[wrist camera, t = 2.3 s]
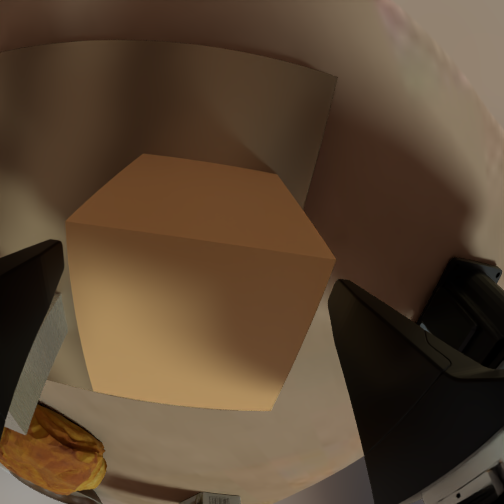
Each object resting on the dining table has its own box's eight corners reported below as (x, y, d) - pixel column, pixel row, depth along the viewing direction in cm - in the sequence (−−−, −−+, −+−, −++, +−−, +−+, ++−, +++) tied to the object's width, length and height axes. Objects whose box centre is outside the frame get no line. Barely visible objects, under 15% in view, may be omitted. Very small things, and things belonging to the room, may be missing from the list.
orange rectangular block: (277, 174, 12) (336, 259, 6) (249, 285, 14) (270, 410, 8) (143, 153, 11) (64, 220, 5) (135, 270, 13) (93, 391, 7)
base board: (327, 78, 11) (337, 76, 10) (237, 396, 20) (238, 410, 19) (-6, 57, 8) (-21, 57, 7) (27, 360, 17) (22, 371, 16)
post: (61, 293, 13) (3, 403, 7) (68, 330, 14) (26, 435, 8) (22, 284, 13) (-42, 381, 7) (31, 321, 14) (-18, 416, 8)
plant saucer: (9, 444, 26) (5, 460, 23) (115, 489, 32) (114, 505, 29) (15, 467, 32) (12, 479, 29) (96, 501, 38) (94, 513, 35)
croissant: (75, 451, 29) (73, 502, 22) (-25, 398, 20) (-38, 455, 14) (141, 438, 26) (142, 506, 19) (7, 369, 17) (-14, 455, 11)
